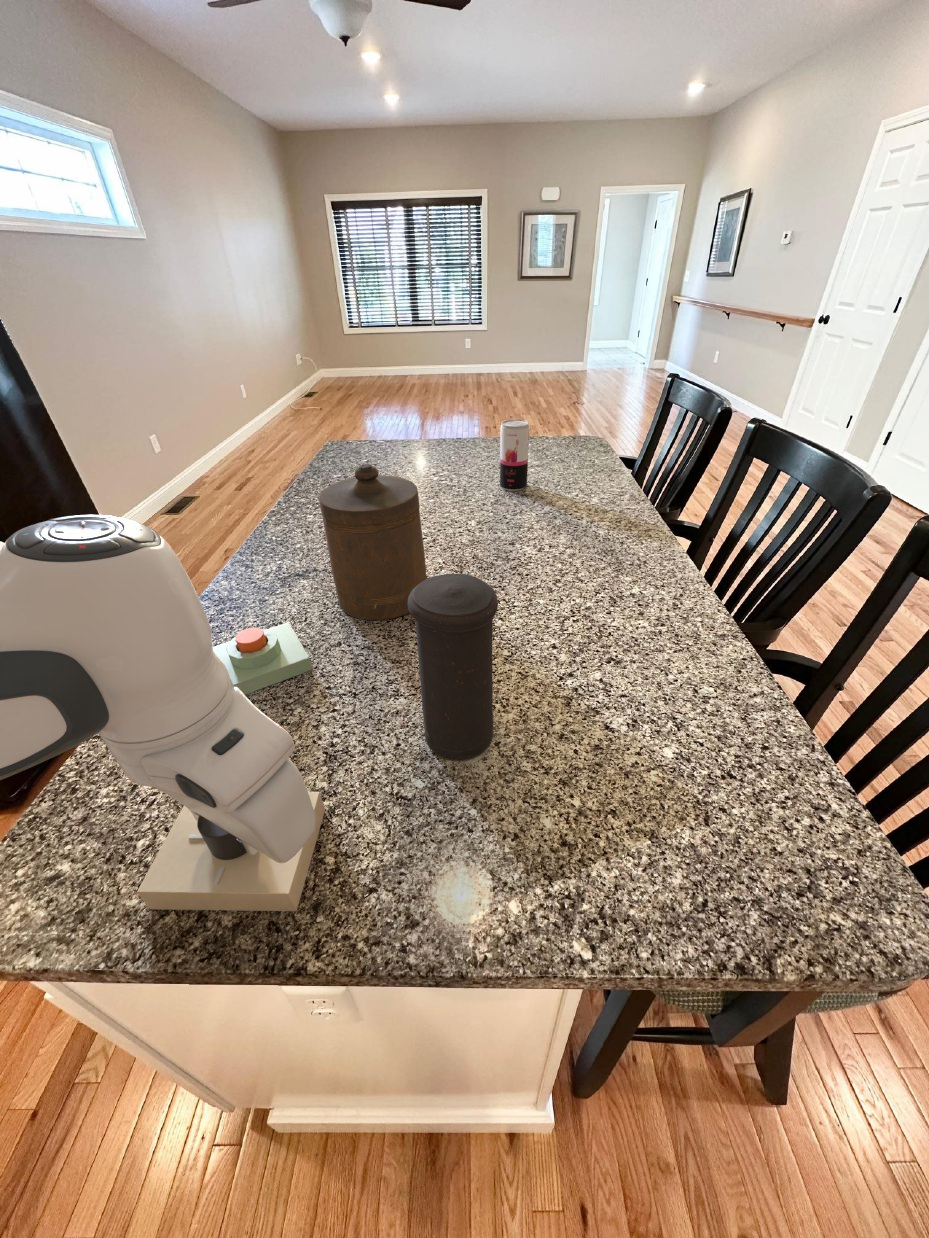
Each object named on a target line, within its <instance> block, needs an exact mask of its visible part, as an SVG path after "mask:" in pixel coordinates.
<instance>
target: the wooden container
mask: <svg viewBox="0 0 929 1238" xmlns="http://www.w3.org/2000/svg"><path fill="white" fill-rule="evenodd" d="M379 473H380V472H379V470H378V468H377V467H376V466H374V465H372V464H370V463H363V464H361V465H359V466H358V467H356V468H355V469H354V477H350V478H346V479H343V480H340V481H336V482H334V483H332V484H330V485H328V486H327V487H325V488H324V489H322V491H321V492H320V493H319V496H318V502H319V508H320V512H321V517H322V525H323V530H324V535H325V539H326V540H325V541H326V546H327V552H328V558H329V564H330V569H331V575H332V578H333V583H334V588H335V591H336V596H337V601H338V604H339V607H340V609H341V610H342V611H343V612H344V613H346V614H347V615H349V616H350V617H354V618H356V619H362V620H368V621H384V620H385V621H386V620H391V619H395V618H400V617H402V616H405V615H408V614H411V613H410V611H409V609H408V597H409V595H410V593H411V591H412V590H413V589H414V588H415V587H416V586H417V585H419V584H420V583H421V582H423V581H424V580H426V579H428V578H427V565H426V554H425V547H424V539H423V530H422V529H423V528H422V522H421V521H422V519H421V510H420V497H419V490H418V486H417V485H416V484H415V483H414V482H413V481H411V480H409V479H406V478H403V477H400V476H396V475H386V474H385V475H384V474H383V475H382V474H379Z"/></svg>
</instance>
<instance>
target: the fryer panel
mask: <svg viewBox="0 0 929 1238" xmlns="http://www.w3.org/2000/svg"><path fill="white" fill-rule="evenodd" d="M308 793H309V796H310V799H311V803H312V806H313V810H314V813H315V818H316V828H315V830H314V832H313V834H312V835H311V837H310V838H309V840H308V841H307V842H306V843H305V845H304V846H303V847H302V848H301V849H300V850H299V851H298V853H297V854H296V855H295V856H294V857H293V858H291V859H290V860H289V861H287V862H285V863H277V862H276V861H274V860H272V859H271V858H270V857H268V856H266V855H265V854H263V853H261V852H260V851H258V852H257V853H256V854H255V855H251V854H249V853H248V852H247V853H245V854H244V855H242V856H240V857H238V858H235V859H231V860H221V859H218V858H216V857H214V856H213V855H212V853H211V852H210V850H209V848H208V846H207V844H206V843H205V841H204V839H203V837H202V836H201V834H200V832H199V830H198V827H197V822H198V821H196V820H195V818H194V816H193V814H192V813H191V811H190V810H189V809H188V808H187V807H186V806H185V805H183V806H182V808H181V810H180V811H179V814H178V816H177V817H176V819H175V821H174V822H173V825H172V826H171V828H170V830H169V832H168V834H167V835H166V837H165V839H164V841H163V843H162V845H161V847H160V848H159V850H158V851H157V854H156V856H155V858H154V859H153V861H152V863H151V865H150V867H149V868H148V870H147V872H146V874H145V876H144V878H143V879H142V881H141V883H140V886H139V887H138V888H137V891H136V894H137V895H139V897H140V898H141V899H142V901H143V902H144V903H145V905H146V906H147V907H148V908H149V910H163V911H164V910H165V911H167V910H168V911H169V910H170V911H171V910H172V911H237V912H238V911H239V912H240V911H243V912H244V911H245V912H246V911H247V912H251V911H252V912H297V911H298V908H299V904H300V901H301V897H302V893H303V890H304V886H305V884H306V879H307V876H308V872H309V869H310V865H311V862H312V859H313V855H314V851H315V847H316V844H317V840H318V837H319V834H320V830H321V826H322V823H323V819H324V816H325V812H326V808H325V804H324V800H323V798H322V795H321V791H308Z"/></svg>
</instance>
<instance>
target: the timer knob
mask: <svg viewBox="0 0 929 1238" xmlns="http://www.w3.org/2000/svg"><path fill="white" fill-rule="evenodd" d="M197 827H198V830H199V832H200V834H201V836H202V837H203V839H204V841H205V843H206V844H207V846H208V848H209V850H210V852H211V853H212V855H213V856H214V857H216V858H218V859H221V860H231V859H235V858H238V857H240V856H242V855H244V854H245V853H247V852H246V851H245V850H243V849H242V848H240V846H239V844H238V842H237V840H236V838H237V837H235V836H234V835H232V834H230V833H229V832H227V831H225V830H224V829H222V828H220V827H219V826H217V825H216V824H214V823H212V822H211V821H209V820H207V819H206V818H204V817H203V816H201V815H199V817H198V822H197Z"/></svg>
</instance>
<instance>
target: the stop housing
mask: <svg viewBox="0 0 929 1238" xmlns="http://www.w3.org/2000/svg"><path fill="white" fill-rule="evenodd" d="M261 629H262V630H263V632H264V635H265V638H266V641H267V643H266V646H265V647H263V648H262V649H261V650H258V651H255V652H252V653H242V652H241V651H240V650H239V648H238V645H237V642H236V639H235V638H236V636H235V637H233V638H231V639H230V640H229V641H226V642H223V643H221V644H217V645H214V646H212V648H213V651H214V653H215V654H216V656H217V657H218V658H219V659H220V660H221V661H222V662H223V664H224V665H225V667H226V668H227V670H228V673H229V675H230V678H231V681H232V683H233V686H234V687H237V688H239V689H240V690H241V691H242V692H243V693H244V695H245V696H247V695H248V694H251V693H253V692H256V691H259V690H261V689H262V690H263V689H265V688H268V687H270V686H272V685H275V684H278V683H280V682H283V681H286V680H289V679H291V678H294V677H297V676H299V675H302V674H305V673H308V672H310V671H313V665H312V662H311V658H310V656H309V654H308V652H307V651H306V648H305V647H304V646H303V644H302V642H301V641H300V639H299V637H298V635H297V634H296V632H295V630H294V628H293V626H292V625H291V623H290V621H287V622H285V623H282V624H279V625H276V626H273V627H270V628H267V629H266V628H261Z"/></svg>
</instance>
